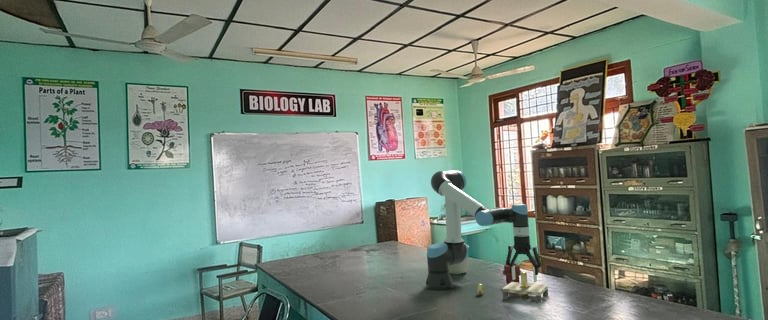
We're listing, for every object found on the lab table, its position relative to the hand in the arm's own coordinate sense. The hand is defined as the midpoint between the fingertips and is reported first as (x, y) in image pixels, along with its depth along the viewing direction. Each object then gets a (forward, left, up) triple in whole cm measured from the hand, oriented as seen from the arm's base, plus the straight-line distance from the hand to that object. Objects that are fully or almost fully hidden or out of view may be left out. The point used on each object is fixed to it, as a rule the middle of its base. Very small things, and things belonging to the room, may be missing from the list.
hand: (524, 280), depth 211 cm
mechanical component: (-12, +17, -8) cm, 22 cm away
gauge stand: (0, 0, -8) cm, 8 cm away
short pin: (-22, -4, -8) cm, 24 cm away
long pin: (0, 0, -8) cm, 8 cm away
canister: (-54, +34, -8) cm, 64 cm away
